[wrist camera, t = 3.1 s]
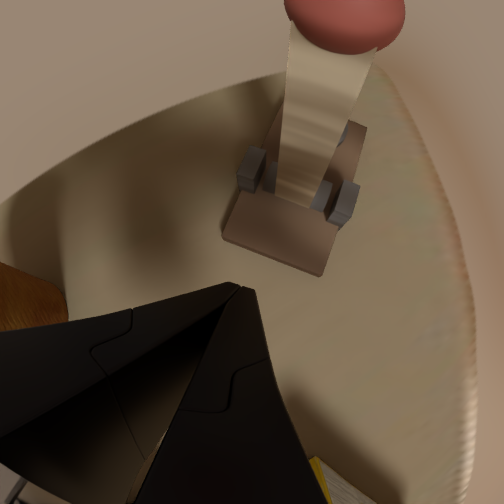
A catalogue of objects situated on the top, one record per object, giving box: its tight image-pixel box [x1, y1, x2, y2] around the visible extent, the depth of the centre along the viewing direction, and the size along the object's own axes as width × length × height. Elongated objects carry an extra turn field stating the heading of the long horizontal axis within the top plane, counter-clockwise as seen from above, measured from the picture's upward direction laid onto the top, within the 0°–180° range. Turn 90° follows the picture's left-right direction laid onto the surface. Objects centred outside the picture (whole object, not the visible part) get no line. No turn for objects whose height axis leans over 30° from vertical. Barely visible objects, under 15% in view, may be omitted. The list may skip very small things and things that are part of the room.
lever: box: [262, 0, 405, 212], centre depth 13 cm, size 4×4×17 cm
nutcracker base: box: [221, 101, 367, 277], centre depth 20 cm, size 14×8×6 cm, turn 158°
